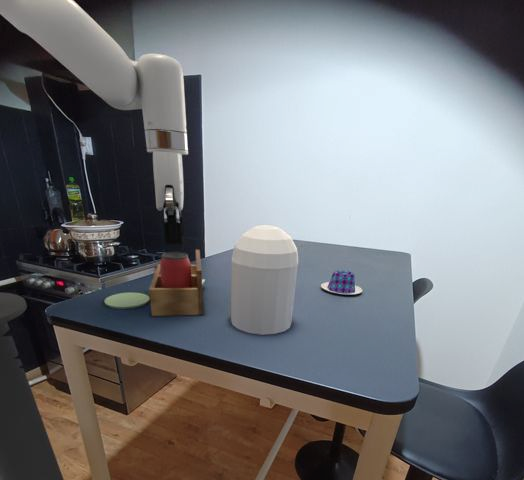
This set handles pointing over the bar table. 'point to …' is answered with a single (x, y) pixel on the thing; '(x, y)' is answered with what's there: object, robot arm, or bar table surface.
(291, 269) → the container
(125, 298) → the coaster
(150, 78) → the robot arm
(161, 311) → the box
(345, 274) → the pudding
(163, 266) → the beer can
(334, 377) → the bar table surface
